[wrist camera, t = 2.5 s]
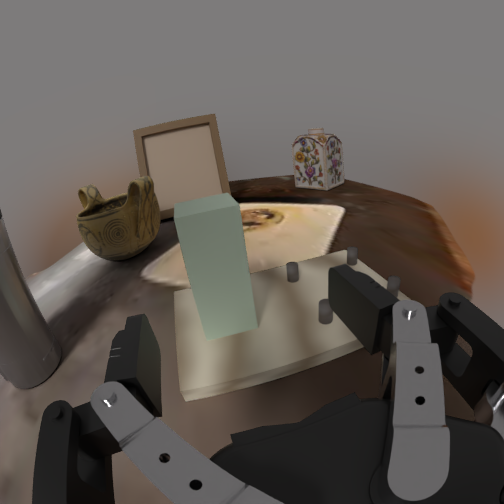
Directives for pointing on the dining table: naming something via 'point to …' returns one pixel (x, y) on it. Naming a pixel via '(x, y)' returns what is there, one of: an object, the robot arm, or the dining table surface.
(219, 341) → the peg board
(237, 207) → the green block
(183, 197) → the photo frame
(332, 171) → the decorative jar
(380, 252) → the dining table surface
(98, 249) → the ceramic bowl
